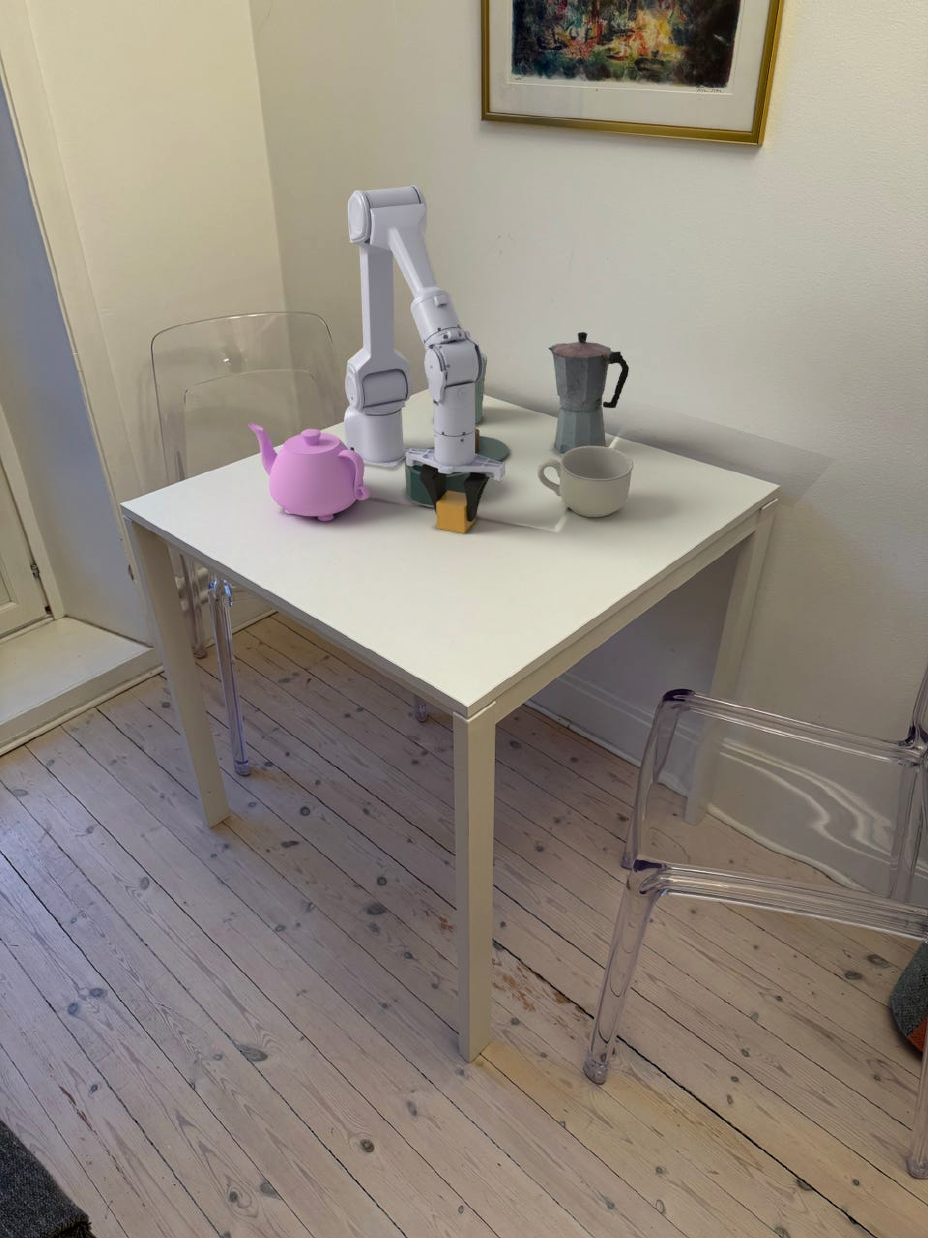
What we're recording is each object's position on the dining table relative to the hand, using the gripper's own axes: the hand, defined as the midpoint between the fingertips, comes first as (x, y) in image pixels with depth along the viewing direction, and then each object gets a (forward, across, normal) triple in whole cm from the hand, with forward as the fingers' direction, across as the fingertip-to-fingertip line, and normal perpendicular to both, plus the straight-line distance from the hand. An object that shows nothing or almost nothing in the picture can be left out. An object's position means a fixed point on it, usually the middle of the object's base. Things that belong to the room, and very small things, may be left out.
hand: (456, 515), depth 131 cm
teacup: (+2, +16, +12) cm, 20 cm away
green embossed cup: (+2, -15, +38) cm, 41 cm away
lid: (+1, -7, +24) cm, 25 cm away
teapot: (+2, -23, -2) cm, 23 cm away
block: (+1, 0, 0) cm, 1 cm away
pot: (+1, -6, +9) cm, 11 cm away
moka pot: (+2, +10, +33) cm, 35 cm away
